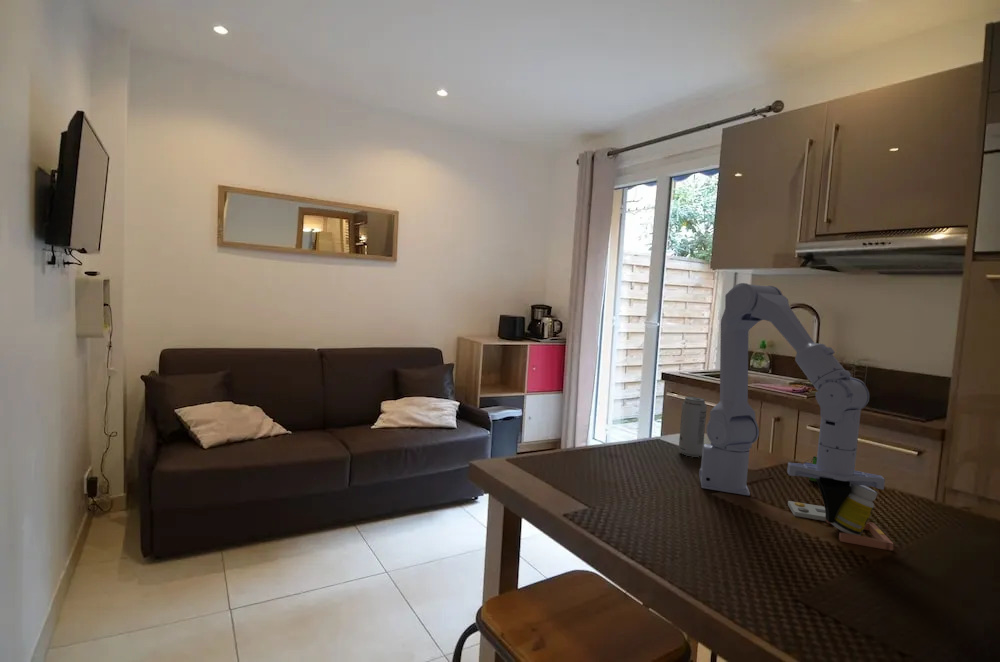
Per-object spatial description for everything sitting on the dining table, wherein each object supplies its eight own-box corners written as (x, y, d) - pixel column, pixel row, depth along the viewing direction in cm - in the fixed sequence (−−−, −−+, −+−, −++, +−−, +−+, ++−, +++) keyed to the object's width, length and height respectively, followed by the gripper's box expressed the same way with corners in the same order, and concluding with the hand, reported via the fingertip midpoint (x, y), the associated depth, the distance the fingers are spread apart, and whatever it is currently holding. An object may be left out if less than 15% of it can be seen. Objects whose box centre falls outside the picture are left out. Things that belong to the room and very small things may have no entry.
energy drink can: (681, 450, 140) (686, 395, 139) (705, 454, 136) (709, 399, 136) (675, 454, 135) (680, 398, 134) (699, 459, 131) (704, 401, 131)
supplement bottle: (864, 541, 88) (885, 498, 87) (835, 529, 89) (856, 486, 88) (852, 529, 93) (872, 487, 92) (825, 518, 94) (844, 477, 93)
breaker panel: (794, 515, 98) (794, 510, 98) (787, 504, 103) (788, 499, 103) (865, 527, 94) (865, 522, 94) (854, 515, 100) (854, 510, 100)
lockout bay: (840, 541, 88) (841, 533, 88) (825, 521, 96) (826, 514, 96) (892, 550, 85) (893, 543, 85) (873, 529, 94) (873, 522, 94)
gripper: (796, 445, 90) (788, 521, 91) (894, 458, 85) (886, 538, 86) (787, 436, 96) (781, 506, 97) (879, 447, 92) (871, 521, 93)
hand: (829, 520), depth 92 cm, fingers closed, pressing on supplement bottle
